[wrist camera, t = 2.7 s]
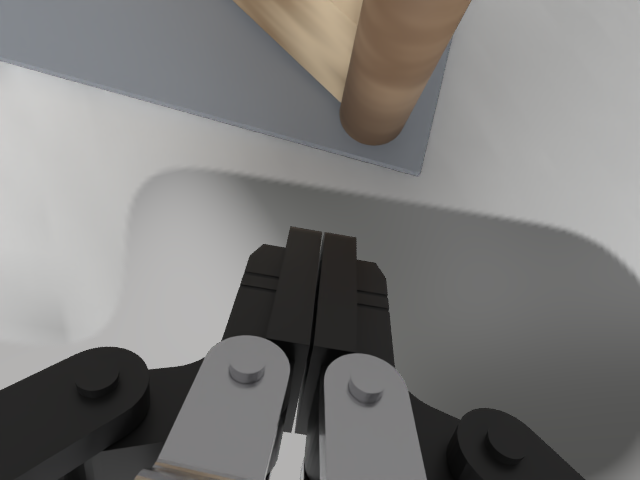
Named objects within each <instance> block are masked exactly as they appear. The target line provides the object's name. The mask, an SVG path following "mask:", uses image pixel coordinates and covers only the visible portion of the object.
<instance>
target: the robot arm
mask: <svg viewBox="0 0 640 480" xmlns="http://www.w3.org/2000/svg"><path fill="white" fill-rule="evenodd" d="M321 235H322V232H320V231H315V230H309V229H303V228H297V227H290V231H289V235H288V240H287V245H286V248H284V247H278V246H272V245H266V244H263V245H262V246H261V247H260V248H258V249H257V250H256V251H255V252H254V253H252V254H251V255H250V257H249V260H248V263H247V266H246V269H245V273H244V275H243V278H242V281H241V284H240V288H239V290H238V293H237V296H236V299H235V302H234V305H233V308H232V312H231V314H230V317H229V320H228V323H227V326H226V329H225V332H224V335H223V338H222V340H221V342H219V343H217V344H216V345H215V346H213V347H212V348H211V349H210V351H209V352H208V353H207V355H206V357H204V358H203V359H201V360H199V361H196V362H194V363H191V364H187V365H184V366H178V367H169V368H161V369H150V370H148V368H147V366H146V364H145V362H144V361H143V360H142V358H140V357H139V356H138V355H136V354H135V353H133V352H132V351H129V350H126V349H123V348H118V347H100V348H93V349H89V350H86V351H83V352H80V353H78V354H75V355H74V356H71V357H69V358H67V359H65V360H63V361H61V362H59V363H57V364H54V365H53V366H50V367H48V368H46V369H44V370H42V371H40V372H38V373H36V374H34V375H31V376H29V377H27V378H25V379H23V380H21V381H19V382H17V383H15V384H13V385H11V386H8V387H6V388H4V389H2V390H0V480H270V475H271V471H272V469H273V467H274V466H275V463H276V461H277V458H278V454H279V449H280V444H281V439H282V434H283V432H290V433H291V431H292V426H293V422H294V417H295V412H296V408H297V403H298V398H299V403H298V410H297V418H296V427H295V433H298V434H305V435H307V437H306V447H305V457H304V461H303V465H302V469H301V474H300V480H585V479H584V478H583V477H582V476H581V475H580V474H579V473H577V472H576V471H575V470H574V469H573V468H572V467H571V466H570V465H569V464H568V463H567V462H565V461H564V460H563V459H562V458H561V457H560V456H559V455H558V454H557V453H556V452H555V451H554V450H553V449H551V448H550V447H549V446H548V445H547V444H546V443H545V442H544V441H543V440H541V438H540V437H538V436H537V435H536V434H535V433H534V432H533V431H532V430H531V429H530V428H529V427H527V426H526V425H525V424H524V423H522V422H521V421H520V420H518V419H517V418H515V417H513V416H511V415H509V414H507V413H505V412H502V411H499V410H495V409H489V408H479V409H475V410H472V411H470V412H468V413H466V414H465V415H464V416H463V417H462V419H461V420H459V419H457V418H455V417H453V416H450V415H448V414H446V413H444V412H441V411H439V410H437V409H435V408H433V407H430V406H429V405H427V404H425V403H423V402H422V401H420V400H419V399H417V398H416V397H415V396H413V395H412V394H411V393H410V392H409V391H408V389H407V385H406V383H405V381H404V379H403V377H402V376H401V375H400V373H399V372H398V371H397V370H396V369H395V365H394V355H393V345H392V335H391V325H390V314H389V312H388V310H389V305H388V298H387V295H388V294H387V284H386V278H385V276H384V275H383V273H382V272H381V270H380V269H379V268H378V266H377V264H376V263H373V262H367V261H361V260H357V259H356V258H357V257H356V237H350V236H345V235H339V234H332V233H326V232H325V233H324V236H323V240H322V246H321V237H322V236H321ZM320 246H321V250H320Z"/></svg>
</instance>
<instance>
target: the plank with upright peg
mask: <svg viewBox="0 0 640 480" xmlns="http://www.w3.org/2000/svg"><path fill="white" fill-rule="evenodd" d="M233 1H234V2H235V3H236V4H237V5H238V6H239V7H240V8H241V9H242V10H243V11H244V12H245V13H246V14H248V15H249V16H250V17H251V18H252V19H253V20H254V21H255V22H256V23H257V24H258V25H259V26H260V27H261V28H262V29H263V30H264V31H265V32H267V33H268V34H269V35H270V36H271V37H272V38H273V39H274V40H275V41H276V42H277V43H278V44H279V45H280V46H281V47H282V48H283V49H285V50H286V51H287V52H288V53H289V54H290V55H291V56H292V57H293V58H294V59H295V60H296V61H297V62H298V63H299V64H300V65H301V66H302V67H304V68H305V69H306V70H307V71H308V72H309V73H310V74H311V75H312V76H313V77H314V78H315V79H316V80H317V81H318V82H319V83H320V84H321V85H323V86H324V87H325V88H326V89H327V90H328V91H329V92H330V93H331V94H332V95H333V96H334V97H335V98H336V99H337V100H338V101H339V102H341V106H340V113H339V114H340V121H341V124H342V126H343V128H344V130H345V131H346V133H347V134H348V135H349V136H350V137H352V138H353V139H354V140H356V141H358V142H360V143H362V144H365V145H372V146H376V145H383V144H386V143H388V142H390V141H392V140H394V139H395V138H396V137H397V136H398V135H399V134H400V132H401V131H402V129H403V127H404V125H405V123H406V121H407V120H408V118H409V116H410V114H411V112H412V110H413V108H414V106H415V105H416V103H417V101H418V99H419V97H420V95H421V93H422V92H423V90H424V88H425V86H426V84H427V82H428V80H429V78H430V77H431V75H432V73H433V71H434V69H435V67H436V65H437V64H438V62H439V60H440V58H441V56H442V54H443V52H444V50H445V49H446V47H447V45H448V43H449V41H450V39H451V37H452V35H453V34H454V32H455V30H456V28H457V26H458V24H459V22H460V21H461V19H462V17H463V15H464V13H465V11H466V9H467V7H468V6H469V4H470V2H471V0H233Z"/></svg>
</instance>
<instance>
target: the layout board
mask: <svg viewBox="0 0 640 480" xmlns="http://www.w3.org/2000/svg"><path fill="white" fill-rule="evenodd" d="M452 36H453V35H452ZM451 41H452V37H451V39H450V41H449V43H448V45H447V47H446V49H445V50H444V52H443V54H442V56H441V58H440V60H439V62H438V64H437V65H436V67H435V69H434V71H433V73H432V75H431V77H430V78H429V80H428V82H427V84H426V86H425V88H424V90H423V92H422V93H421V95H420V97H419V99H418V101H417V103H416V105H415V106H414V108H413V110H412V112H411V114H410V116H409V118H408V120H407V121H406V123H405V125H404V127H403V129H402V131H401V132H400V134H399V135H398V136H397V137H396V138H395V139H394V140H392V141H390V142H388V143H386V144H383V145H376V146H372V145H365V144H362V143H360V142H358V141H356V140H354V139H353V138H352V137H350V136H349V135H348V134H347V133H346V131H345V130H344V128H343V126H342V124H341V121H340V114H339V113H340V106H341V102H339V101H338V100H337V99H336V98H335V97H334V96H333V95H332V94H331V93H330V92H329V91H328V90H327V89H326V88H325V87H324V86H323V85H321V84H320V83H319V82H318V81H317V80H316V79H315V78H314V77H313V76H312V75H311V74H310V73H309V72H308V71H307V70H306V69H305V68H304V67H302V66H301V65H300V64H299V63H298V62H297V61H296V60H295V59H294V58H293V57H292V56H291V55H290V54H289V53H288V52H287V51H286V50H285V49H283V48H282V47H281V46H280V45H279V44H278V43H277V42H276V41H275V40H274V39H273V38H272V37H271V36H270V35H269V34H268V33H267V32H265V31H264V30H263V29H262V28H261V27H260V26H259V25H258V24H257V23H256V22H255V21H254V20H253V19H252V18H251V17H250V16H249V15H248V14H246V13H245V12H244V11H243V10H242V9H241V8H240V7H239V6H238V5H237V4H236V3H235V2H234V1H233V0H0V61H3V62H7V63H10V64H14V65H17V66H21V67H25V68H28V69H32V70H36V71H39V72H43V73H46V74H50V75H54V76H57V77H61V78H64V79H68V80H72V81H75V82H79V83H82V84H86V85H90V86H93V87H97V88H101V89H104V90H108V91H111V92H115V93H119V94H122V95H126V96H129V97H133V98H137V99H140V100H144V101H148V102H151V103H155V104H158V105H162V106H166V107H169V108H173V109H176V110H180V111H184V112H187V113H191V114H194V115H198V116H202V117H205V118H209V119H213V120H216V121H220V122H223V123H227V124H231V125H234V126H238V127H241V128H245V129H249V130H252V131H256V132H260V133H263V134H267V135H270V136H274V137H278V138H281V139H285V140H288V141H292V142H296V143H299V144H303V145H307V146H310V147H314V148H317V149H321V150H325V151H328V152H332V153H335V154H339V155H343V156H346V157H350V158H353V159H357V160H361V161H364V162H368V163H372V164H375V165H379V166H382V167H386V168H390V169H393V170H397V171H400V172H404V173H408V174H411V175H415V176H419V174H420V173H421V169H422V164H423V160H424V156H425V152H426V147H427V143H428V139H429V134H430V130H431V126H432V122H433V117H434V113H435V109H436V105H437V100H438V96H439V92H440V88H441V83H442V79H443V75H444V70H445V66H446V62H447V58H448V53H449V49H450V45H451Z"/></svg>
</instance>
